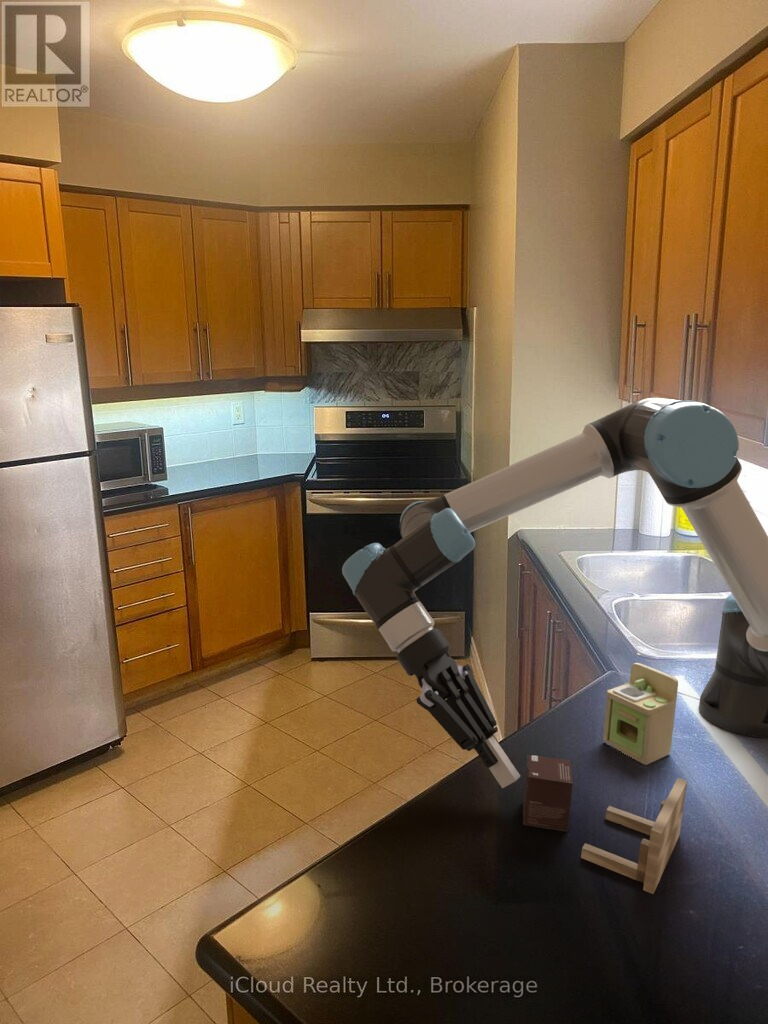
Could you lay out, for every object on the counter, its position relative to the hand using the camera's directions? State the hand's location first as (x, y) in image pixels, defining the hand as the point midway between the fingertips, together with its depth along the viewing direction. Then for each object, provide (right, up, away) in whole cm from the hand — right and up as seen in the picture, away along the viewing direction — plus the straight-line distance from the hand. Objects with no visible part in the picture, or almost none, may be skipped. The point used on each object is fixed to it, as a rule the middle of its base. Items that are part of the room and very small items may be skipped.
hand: (511, 782), depth 104 cm
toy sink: (+23, -1, +18) cm, 30 cm away
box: (+4, -4, -1) cm, 6 cm away
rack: (+13, -6, -7) cm, 16 cm away
